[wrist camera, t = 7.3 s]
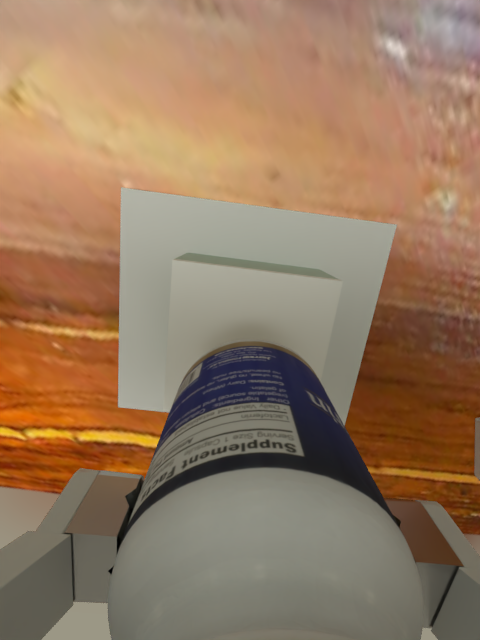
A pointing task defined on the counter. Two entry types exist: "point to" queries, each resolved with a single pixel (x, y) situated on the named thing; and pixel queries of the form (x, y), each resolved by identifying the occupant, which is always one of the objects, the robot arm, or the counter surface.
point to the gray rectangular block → (477, 448)
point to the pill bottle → (260, 517)
